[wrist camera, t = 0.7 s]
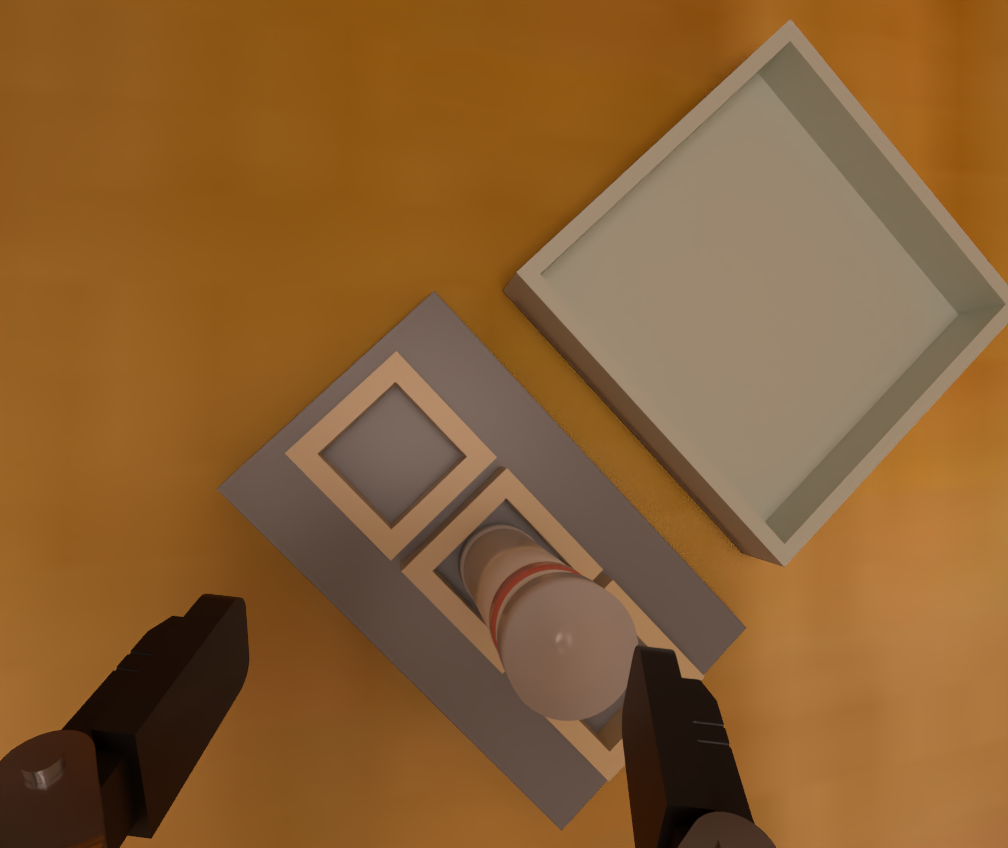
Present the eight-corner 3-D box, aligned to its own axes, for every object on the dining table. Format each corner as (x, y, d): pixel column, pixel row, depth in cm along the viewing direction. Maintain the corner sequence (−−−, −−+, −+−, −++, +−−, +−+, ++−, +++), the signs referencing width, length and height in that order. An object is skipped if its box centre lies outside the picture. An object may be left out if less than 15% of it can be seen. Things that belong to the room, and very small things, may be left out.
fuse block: (224, 486, 32) (204, 492, 29) (432, 297, 34) (436, 281, 31) (554, 814, 35) (571, 855, 31) (732, 620, 37) (767, 638, 33)
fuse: (459, 522, 33) (506, 582, 19) (538, 522, 33) (639, 581, 20) (457, 603, 33) (503, 724, 19) (536, 602, 33) (637, 717, 19)
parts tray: (502, 291, 35) (516, 272, 31) (748, 63, 38) (790, 19, 34) (742, 553, 37) (784, 566, 33) (960, 318, 39) (1023, 305, 35)
